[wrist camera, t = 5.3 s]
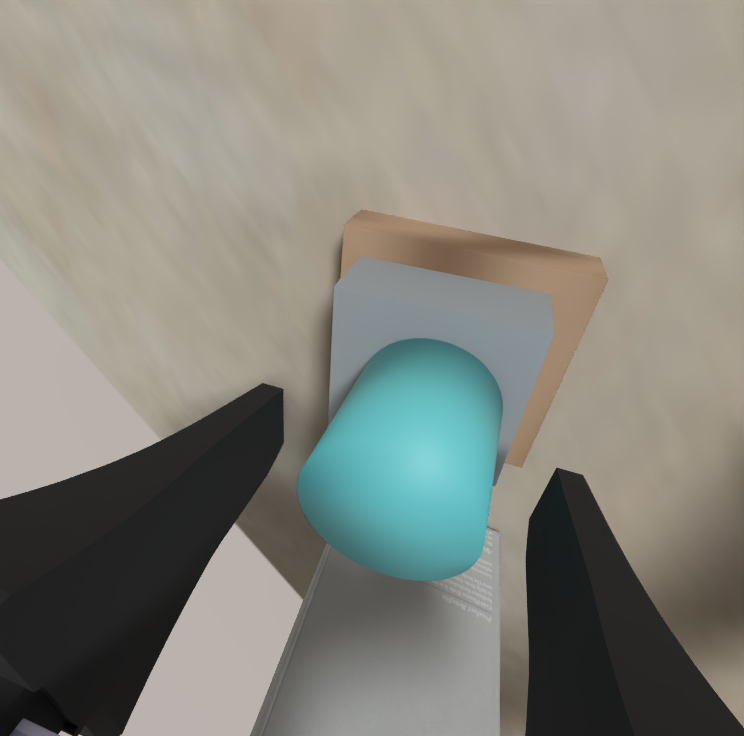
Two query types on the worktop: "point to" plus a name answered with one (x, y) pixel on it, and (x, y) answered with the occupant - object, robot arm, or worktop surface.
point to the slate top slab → (440, 329)
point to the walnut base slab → (498, 265)
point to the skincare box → (391, 654)
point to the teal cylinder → (408, 463)
